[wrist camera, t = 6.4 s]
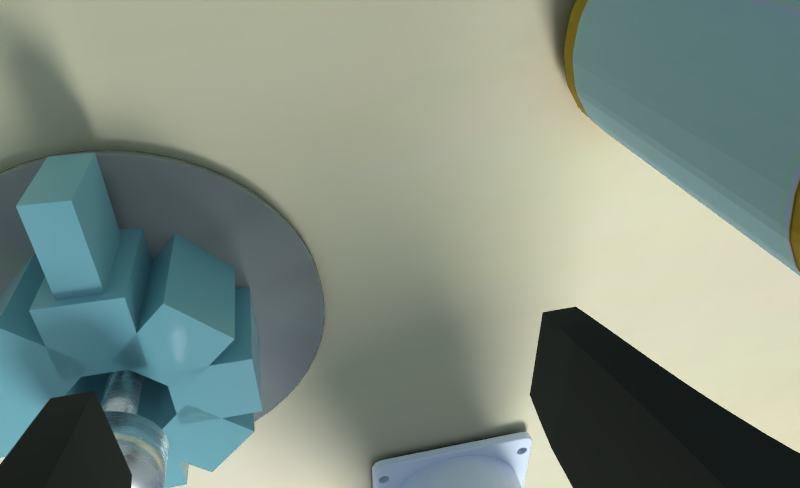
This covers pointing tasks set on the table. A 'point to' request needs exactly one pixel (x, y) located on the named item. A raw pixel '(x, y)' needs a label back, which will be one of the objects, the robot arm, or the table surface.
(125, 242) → the blue block ring base
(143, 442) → the plunger
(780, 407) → the table surface
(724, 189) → the bottle
